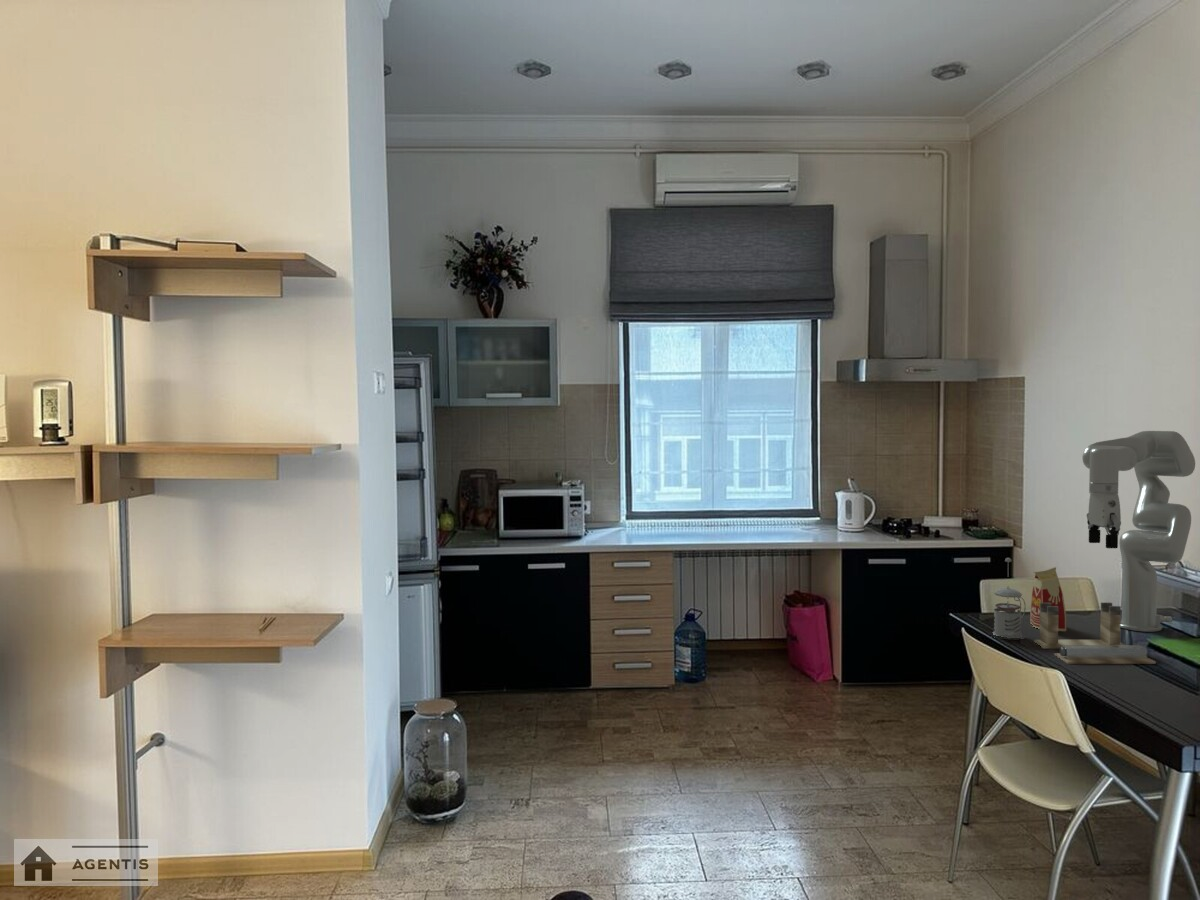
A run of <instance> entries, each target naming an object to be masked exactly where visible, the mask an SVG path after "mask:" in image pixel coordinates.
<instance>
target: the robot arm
mask: <svg viewBox="0 0 1200 900" xmlns="http://www.w3.org/2000/svg"><path fill="white" fill-rule="evenodd" d="M1082 463H1083V465H1084V467H1086V468H1087V469H1089V475H1088V476H1089V487H1088V493H1089V499H1088V500H1089V502H1088V513H1086V518H1087V521H1086V522H1087V529H1088V543H1089V544H1100V543H1101V529H1100V528H1105V531H1106V534H1105V548H1106V549H1118V547H1119V550H1120V554H1121V555H1120V556H1121V562H1122V563H1121V564H1122V565H1121V566H1122V570H1121V571H1122V581H1121V582H1122V583H1121V588H1122V589H1121V623H1120V629H1125V630H1130V631H1134V632H1135V631H1136V632H1145V633H1146V632H1147V633H1148V632H1149V633H1150V632H1151V633H1152V632H1160V631H1162V630H1163V626H1162V623H1172V622H1173V617H1172V616H1169V615H1167V616H1164V615H1161V614H1158V613H1157V603H1158V602H1157V599H1158V598H1157V596H1158V594H1157V593H1158V573H1157V571H1156V569H1155V567H1154V566H1153V565H1152V563H1151V562H1155V563H1156V562H1157V563H1165V564H1177V563H1179V562H1180V561H1181V560H1182V558H1183V556H1184V553H1185V549H1186V546H1187V541H1188V538H1189V535H1190V530H1191V527H1192V526H1191V525H1192V514H1191V513H1192V512H1191V510H1190V509H1189V507H1187V506H1186V505H1184V504H1179V503H1173V502H1172V503H1169V501H1170V500H1169V499H1170V496H1171V495H1170V494H1171V491H1170V490H1169V487H1167V485H1166V484H1165V482H1163V481H1162V480H1161V478H1159V477H1160V476H1161V477H1180V478H1184V477H1189V476H1191V475H1192V474H1193V473H1194V471H1195V469H1196V468H1195V467H1196V459H1195V456H1194V453H1193V451H1192V449H1190V446H1189V444H1188V443H1187V441H1186V440H1185V438H1184V436H1183V435H1182V434H1180V433H1179V432H1178V431H1174V430H1173V431H1171V430H1143V431H1138V432H1137V433H1135V434H1132V435H1130V436H1127V437H1120V438H1115V439H1108V440H1103V441H1097V442H1093V443H1092V444H1089V445H1088V446H1087V447H1086V448H1085V449H1084V451H1083V453H1082ZM1133 468H1134V472H1135V476H1136V479H1137V480H1136V481H1137V482H1138V486H1139V489H1138V496H1137V499H1136V502H1135V507H1134V510H1133V513H1132V520H1131V521H1132V524H1133V526H1134V527H1135V528H1136V529H1131V530H1126V531H1124V532H1123V533H1122V534H1121V536H1120V537H1119V535H1120V530H1121V526H1122V519H1121V518H1122V516H1121V515H1122V514H1121V502H1120V497H1119V472H1127V471H1131V470H1132V469H1133Z"/></svg>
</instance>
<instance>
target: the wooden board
mask: <svg viewBox="0 0 1200 900" xmlns="http://www.w3.org/2000/svg"><path fill="white" fill-rule="evenodd" d="M1053 654H1054V655H1055V656H1054V655H1053V656H1054V657H1056V656H1057V657H1056V658H1058V659H1059V658H1060V659H1059V660H1061V661H1062V660H1063V662H1064V663H1066V664H1068V665H1069V664H1071V665H1074V664H1075V665H1078V664H1079V665H1080V664H1083V665H1085V664H1086V665H1087V664H1089V665H1090V664H1091V665H1092V664H1093V665H1094V664H1096V665H1097V664H1102V665H1104V664H1105V665H1106V664H1108V665H1109V664H1110V665H1111V664H1113V665H1114V664H1115V665H1118V664H1119V665H1120V664H1123V665H1127V664H1131V665H1133V664H1135V665H1136V664H1137V665H1140V664H1141V665H1142V664H1143V665H1144V664H1145V665H1147V664H1149V665H1152V664H1153V665H1155V664H1156V663H1157V662H1156V661H1155V659H1154V660H1153V659H1151V658H1149V656H1147V659H1066V658H1065V657H1063V656H1061V655H1060V652H1059V653H1058V652H1056V653H1055V652H1054V653H1053Z"/></svg>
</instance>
